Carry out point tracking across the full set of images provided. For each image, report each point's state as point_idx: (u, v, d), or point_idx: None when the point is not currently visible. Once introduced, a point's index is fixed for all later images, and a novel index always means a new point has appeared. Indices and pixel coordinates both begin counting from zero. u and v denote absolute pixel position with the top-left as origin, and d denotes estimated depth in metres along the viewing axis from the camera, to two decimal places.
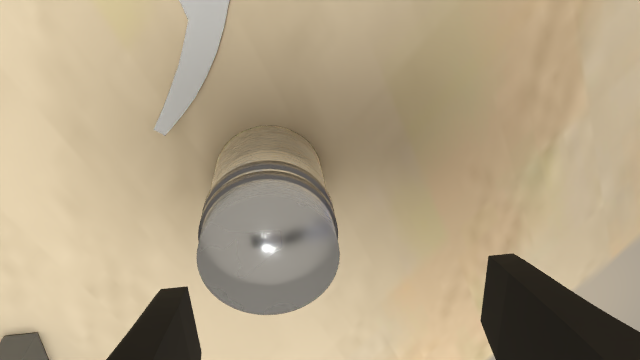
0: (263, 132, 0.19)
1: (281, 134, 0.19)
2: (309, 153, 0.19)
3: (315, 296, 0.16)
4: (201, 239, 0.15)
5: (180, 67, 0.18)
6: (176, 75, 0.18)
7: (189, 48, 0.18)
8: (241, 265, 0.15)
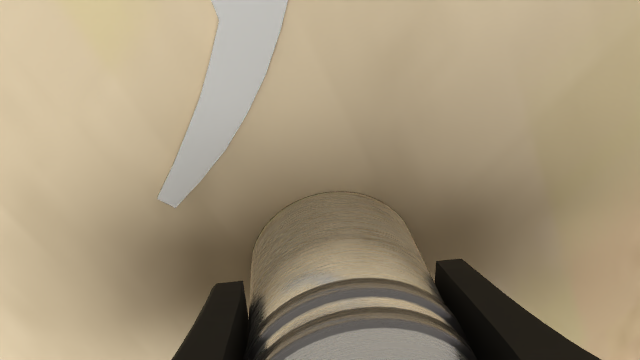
0: (335, 206, 0.12)
1: (363, 209, 0.12)
2: (409, 240, 0.12)
3: None
4: None
5: (203, 100, 0.11)
6: (196, 113, 0.11)
7: (219, 68, 0.10)
8: None
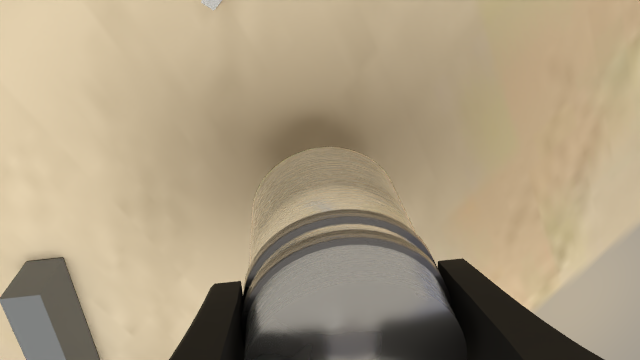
0: (328, 158, 0.13)
1: (354, 161, 0.13)
2: (392, 190, 0.13)
3: None
4: (254, 343, 0.09)
5: None
6: None
7: None
8: None
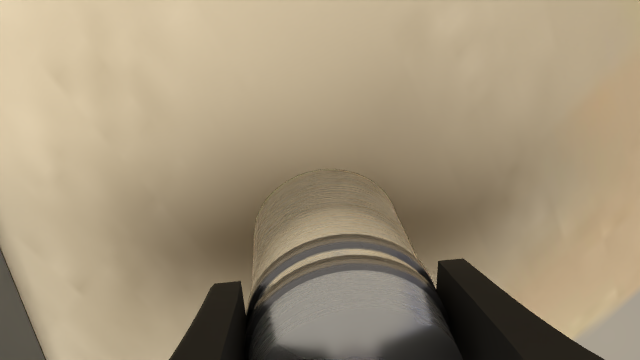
0: (330, 180, 0.14)
1: (355, 184, 0.14)
2: (392, 212, 0.14)
3: None
4: None
5: None
6: None
7: None
8: None
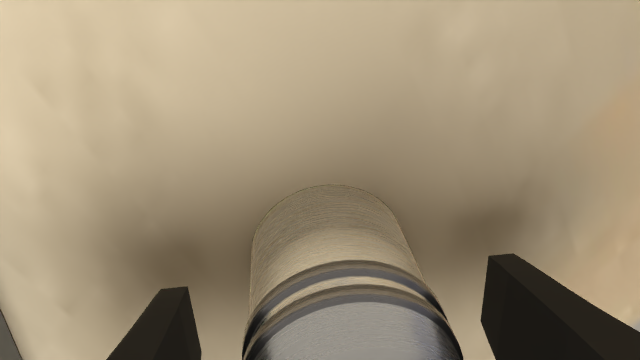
0: (332, 197, 0.13)
1: (358, 202, 0.13)
2: (398, 232, 0.13)
3: None
4: None
5: None
6: None
7: None
8: None
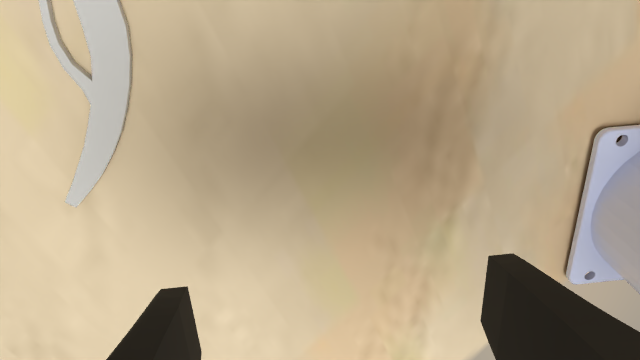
0: None
1: None
2: None
3: None
4: None
5: (86, 146, 0.19)
6: (83, 153, 0.19)
7: (93, 129, 0.19)
8: None
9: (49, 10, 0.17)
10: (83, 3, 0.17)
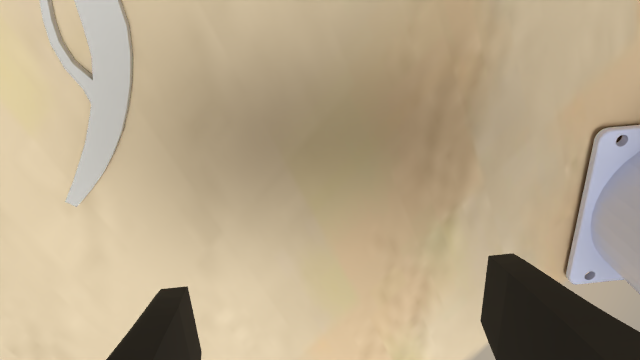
0: None
1: None
2: None
3: None
4: None
5: (86, 146, 0.19)
6: (83, 153, 0.19)
7: (94, 129, 0.19)
8: None
9: (49, 9, 0.17)
10: (84, 2, 0.17)
